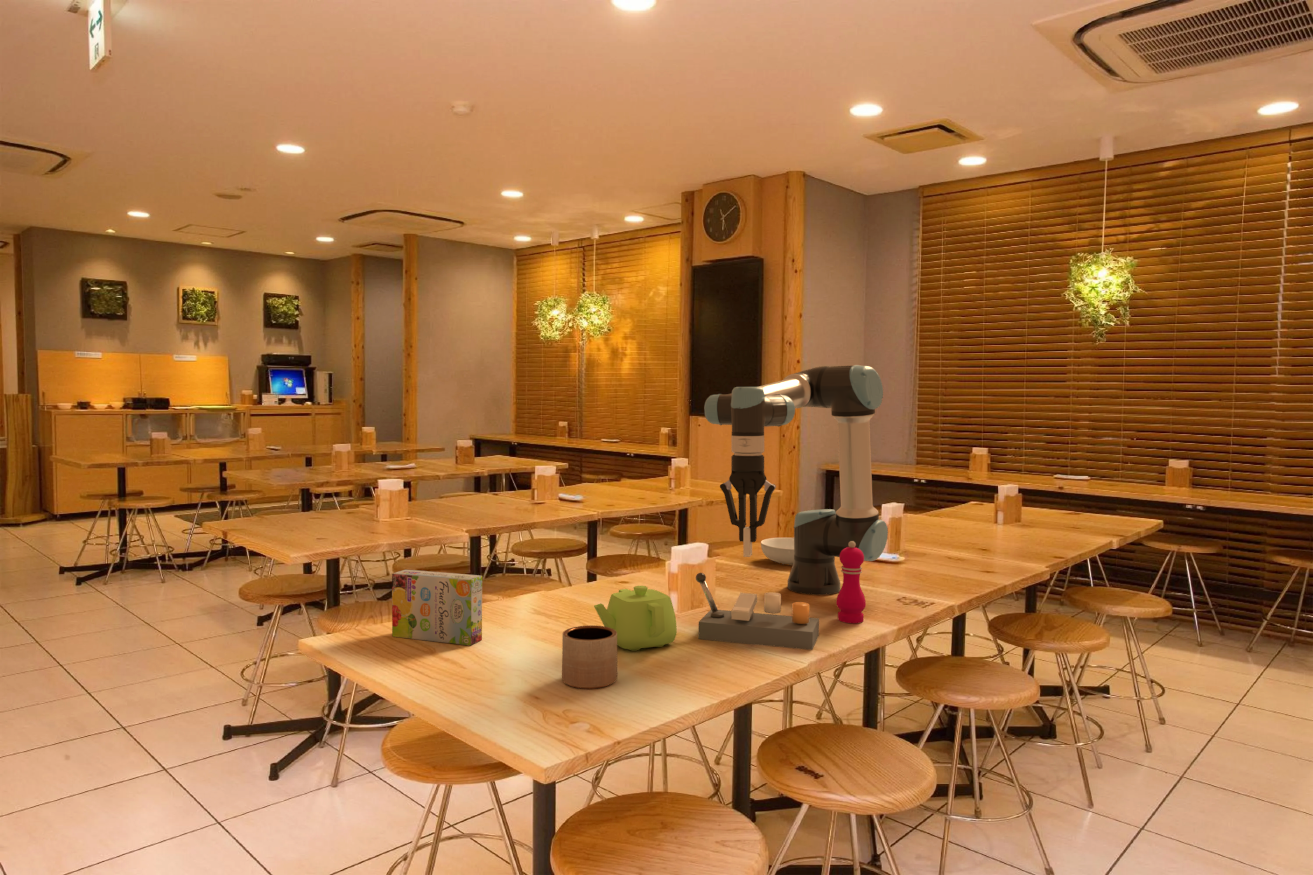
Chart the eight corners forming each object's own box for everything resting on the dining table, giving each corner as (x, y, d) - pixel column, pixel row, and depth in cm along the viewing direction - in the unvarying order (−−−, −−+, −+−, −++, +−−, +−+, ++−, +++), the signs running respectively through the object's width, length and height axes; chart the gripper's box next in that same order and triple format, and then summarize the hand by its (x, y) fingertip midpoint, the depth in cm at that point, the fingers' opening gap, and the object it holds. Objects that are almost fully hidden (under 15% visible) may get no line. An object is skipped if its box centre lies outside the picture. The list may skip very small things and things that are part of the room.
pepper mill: (866, 624, 204) (867, 544, 203) (836, 623, 205) (837, 542, 204) (864, 617, 211) (866, 539, 210) (835, 615, 212) (837, 538, 211)
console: (711, 625, 203) (711, 601, 202) (818, 635, 195) (819, 610, 194) (698, 638, 191) (698, 613, 191) (812, 649, 183) (812, 623, 183)
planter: (562, 672, 168) (562, 625, 167) (616, 670, 169) (616, 624, 168) (561, 691, 157) (561, 641, 156) (618, 689, 158) (618, 640, 157)
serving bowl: (759, 567, 272) (759, 546, 271) (761, 555, 292) (762, 536, 292) (824, 570, 268) (824, 549, 268) (822, 558, 289) (822, 538, 289)
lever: (712, 612, 197) (695, 573, 198) (721, 608, 197) (704, 570, 198) (709, 614, 195) (693, 575, 196) (718, 611, 194) (701, 572, 195)
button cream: (765, 608, 194) (765, 591, 194) (781, 609, 193) (782, 592, 193) (762, 612, 190) (762, 595, 190) (779, 614, 189) (779, 596, 189)
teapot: (613, 663, 174) (613, 601, 173) (577, 638, 191) (577, 582, 191) (689, 651, 182) (690, 592, 181) (648, 628, 200) (648, 575, 199)
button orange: (793, 618, 192) (793, 601, 192) (810, 619, 191) (810, 602, 191) (790, 622, 189) (791, 605, 188) (807, 624, 187) (808, 606, 187)
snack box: (483, 639, 190) (483, 574, 189) (470, 646, 184) (470, 579, 184) (405, 630, 197) (404, 567, 196) (390, 637, 191) (389, 572, 191)
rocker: (740, 600, 199) (740, 591, 198) (757, 601, 198) (756, 593, 197) (731, 619, 190) (731, 610, 189) (748, 620, 189) (748, 611, 188)
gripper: (716, 454, 189) (716, 557, 190) (773, 455, 185) (773, 560, 186) (723, 452, 196) (723, 550, 197) (778, 453, 192) (778, 553, 193)
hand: (747, 555), depth 192 cm, fingers closed
